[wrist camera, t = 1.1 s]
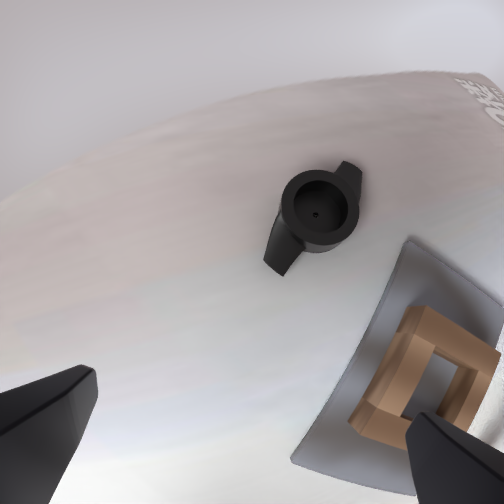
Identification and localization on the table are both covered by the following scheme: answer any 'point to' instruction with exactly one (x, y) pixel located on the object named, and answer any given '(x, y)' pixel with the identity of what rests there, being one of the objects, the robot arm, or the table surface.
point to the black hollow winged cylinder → (305, 206)
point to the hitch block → (406, 374)
